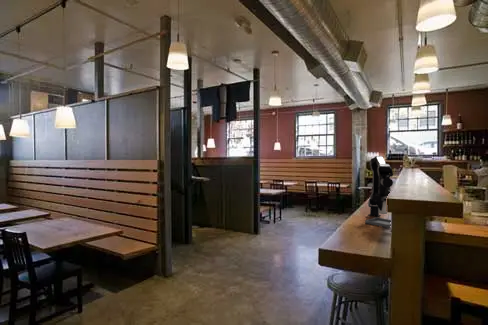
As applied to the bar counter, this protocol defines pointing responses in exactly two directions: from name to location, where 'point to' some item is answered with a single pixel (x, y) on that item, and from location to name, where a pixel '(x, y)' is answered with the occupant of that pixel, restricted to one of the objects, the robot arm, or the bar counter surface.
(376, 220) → the tray
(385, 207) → the ceramic cup
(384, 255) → the bar counter surface
